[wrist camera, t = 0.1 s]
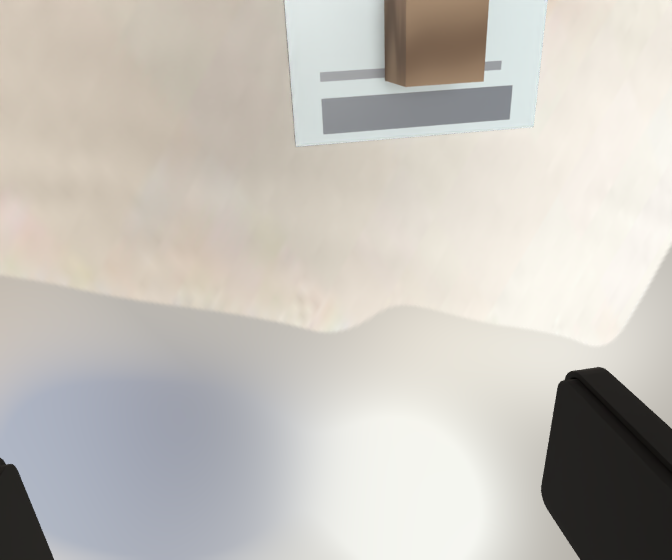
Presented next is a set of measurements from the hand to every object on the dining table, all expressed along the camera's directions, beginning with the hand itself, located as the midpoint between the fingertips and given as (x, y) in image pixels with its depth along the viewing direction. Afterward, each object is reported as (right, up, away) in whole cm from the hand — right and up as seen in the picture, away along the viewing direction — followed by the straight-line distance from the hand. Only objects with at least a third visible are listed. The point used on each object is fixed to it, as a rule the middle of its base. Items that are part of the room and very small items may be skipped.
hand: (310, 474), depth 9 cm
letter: (+6, +20, +27) cm, 34 cm away
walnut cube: (+6, +20, +26) cm, 34 cm away
